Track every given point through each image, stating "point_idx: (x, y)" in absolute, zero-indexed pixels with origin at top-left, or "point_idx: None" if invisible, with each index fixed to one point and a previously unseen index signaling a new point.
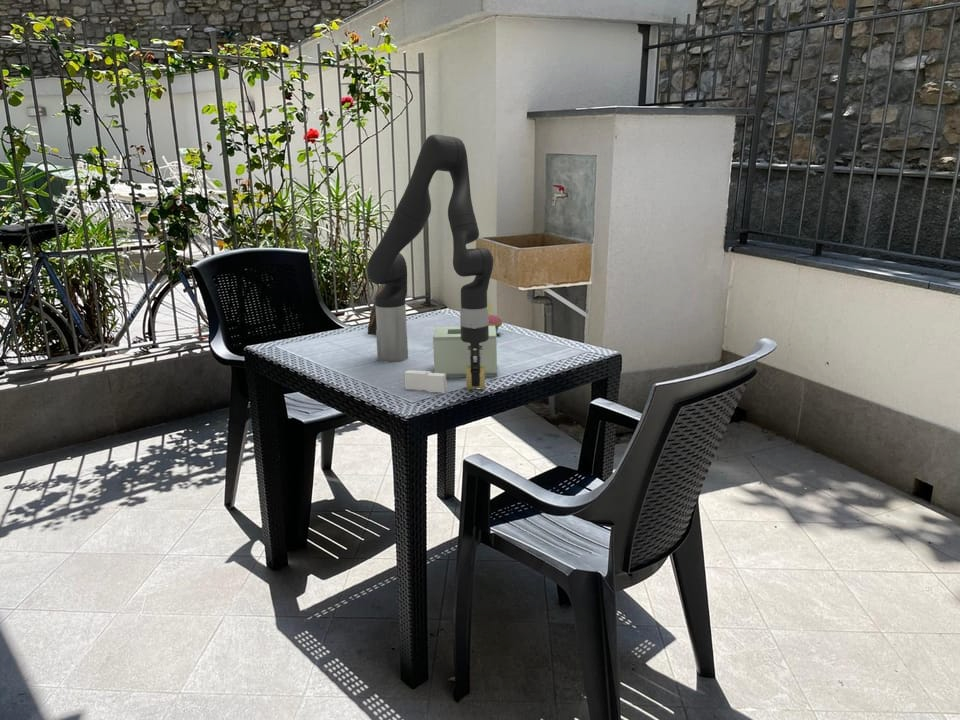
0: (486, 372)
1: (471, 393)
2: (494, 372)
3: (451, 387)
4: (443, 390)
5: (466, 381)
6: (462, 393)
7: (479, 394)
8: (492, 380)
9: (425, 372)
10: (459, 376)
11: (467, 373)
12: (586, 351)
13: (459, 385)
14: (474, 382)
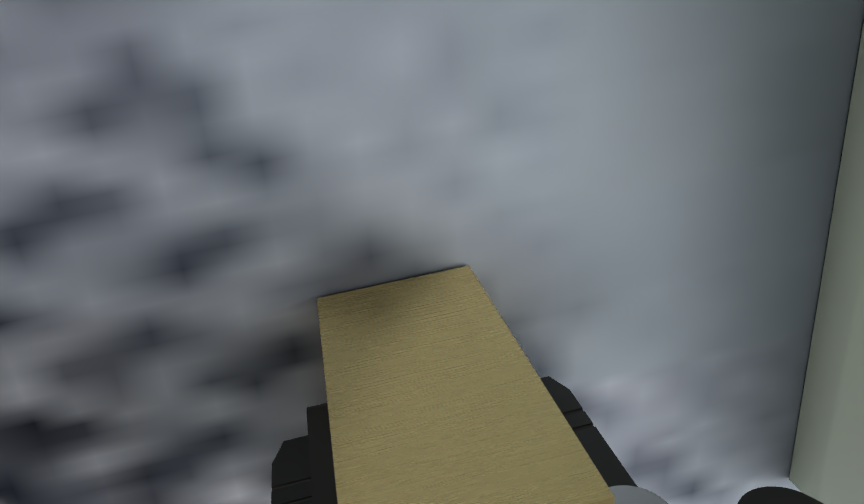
0: (840, 420)
1: (165, 392)
2: (824, 489)
3: (398, 50)
4: None
5: (324, 367)
6: (133, 280)
7: (149, 487)
8: (664, 476)
9: None
10: (858, 86)
11: (338, 492)
12: None
13: (498, 158)
14: (277, 492)
